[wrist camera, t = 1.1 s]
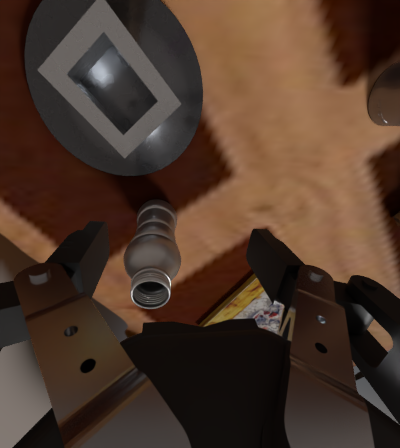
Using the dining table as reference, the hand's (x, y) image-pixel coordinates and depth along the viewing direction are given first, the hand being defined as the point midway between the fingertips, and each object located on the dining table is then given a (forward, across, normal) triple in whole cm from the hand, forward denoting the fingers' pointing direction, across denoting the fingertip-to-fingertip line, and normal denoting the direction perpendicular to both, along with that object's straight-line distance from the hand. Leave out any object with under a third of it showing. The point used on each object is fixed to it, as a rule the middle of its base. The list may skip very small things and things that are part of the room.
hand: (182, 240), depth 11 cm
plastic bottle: (+25, +2, +9) cm, 27 cm away
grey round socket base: (+25, +7, -9) cm, 27 cm away
